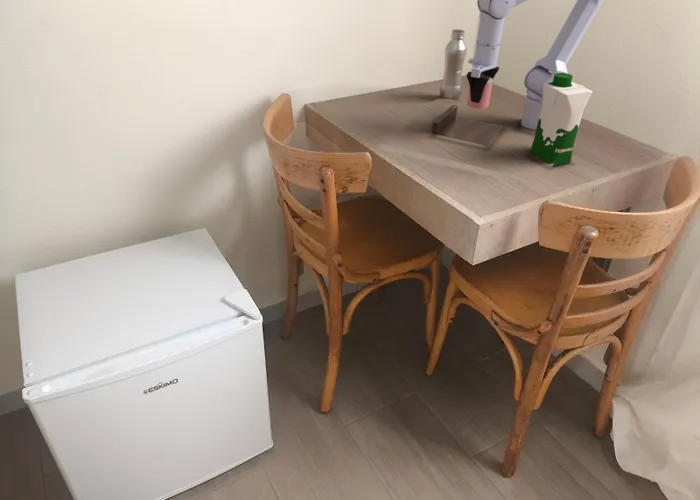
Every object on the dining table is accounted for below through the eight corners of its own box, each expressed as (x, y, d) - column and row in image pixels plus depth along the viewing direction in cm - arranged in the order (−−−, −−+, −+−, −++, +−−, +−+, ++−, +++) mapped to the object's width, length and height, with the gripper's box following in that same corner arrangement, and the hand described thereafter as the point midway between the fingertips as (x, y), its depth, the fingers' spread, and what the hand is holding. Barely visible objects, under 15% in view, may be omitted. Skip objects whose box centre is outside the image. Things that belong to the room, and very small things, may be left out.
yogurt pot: (491, 103, 140) (495, 78, 136) (485, 110, 136) (489, 83, 132) (470, 99, 142) (474, 74, 138) (464, 106, 138) (468, 80, 134)
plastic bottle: (463, 98, 167) (473, 30, 155) (454, 104, 162) (464, 35, 151) (444, 94, 170) (452, 27, 158) (435, 100, 165) (443, 31, 153)
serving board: (502, 130, 147) (505, 115, 144) (486, 150, 136) (489, 134, 133) (450, 119, 152) (452, 104, 150) (431, 137, 142) (433, 122, 139)
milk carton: (551, 149, 137) (571, 70, 125) (576, 164, 130) (600, 82, 119) (523, 155, 134) (541, 74, 122) (547, 170, 127) (569, 86, 116)
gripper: (480, 34, 137) (472, 87, 145) (462, 47, 126) (454, 103, 134) (508, 38, 134) (498, 92, 142) (491, 52, 124) (482, 109, 131)
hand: (478, 98), depth 138 cm, fingers closed on yogurt pot, 5 cm apart
